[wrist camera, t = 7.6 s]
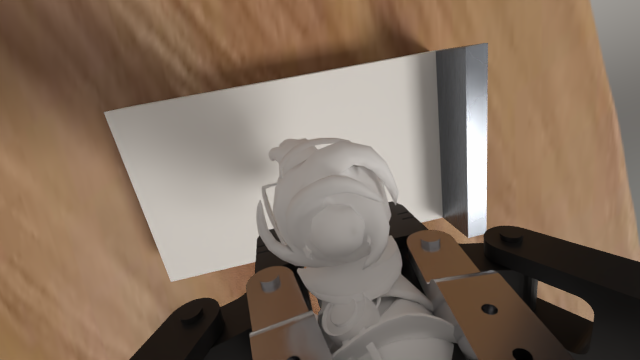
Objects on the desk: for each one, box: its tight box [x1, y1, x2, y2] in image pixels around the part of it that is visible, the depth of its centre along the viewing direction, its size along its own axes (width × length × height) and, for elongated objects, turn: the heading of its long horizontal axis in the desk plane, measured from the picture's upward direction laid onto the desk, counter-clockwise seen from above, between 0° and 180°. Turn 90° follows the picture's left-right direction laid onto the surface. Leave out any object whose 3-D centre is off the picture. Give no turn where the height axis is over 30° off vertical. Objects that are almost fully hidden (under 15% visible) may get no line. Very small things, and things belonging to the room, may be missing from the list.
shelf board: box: [104, 48, 450, 282], centre depth 21 cm, size 11×20×3 cm, turn 100°
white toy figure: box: [256, 138, 457, 360], centre depth 9 cm, size 9×4×12 cm, turn 17°
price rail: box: [436, 43, 488, 238], centre depth 19 cm, size 11×1×3 cm, turn 10°
